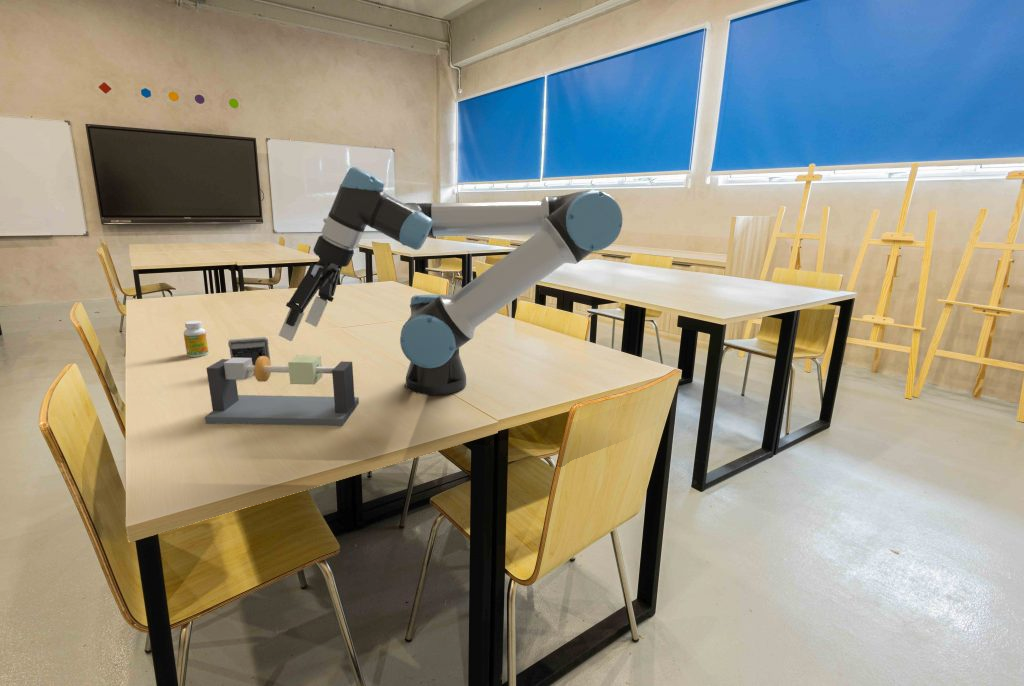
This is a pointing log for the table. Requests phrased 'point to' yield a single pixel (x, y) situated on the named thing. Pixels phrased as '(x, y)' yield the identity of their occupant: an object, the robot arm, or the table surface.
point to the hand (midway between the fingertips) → (298, 330)
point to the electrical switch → (249, 348)
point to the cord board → (276, 408)
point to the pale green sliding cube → (304, 369)
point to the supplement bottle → (195, 339)
